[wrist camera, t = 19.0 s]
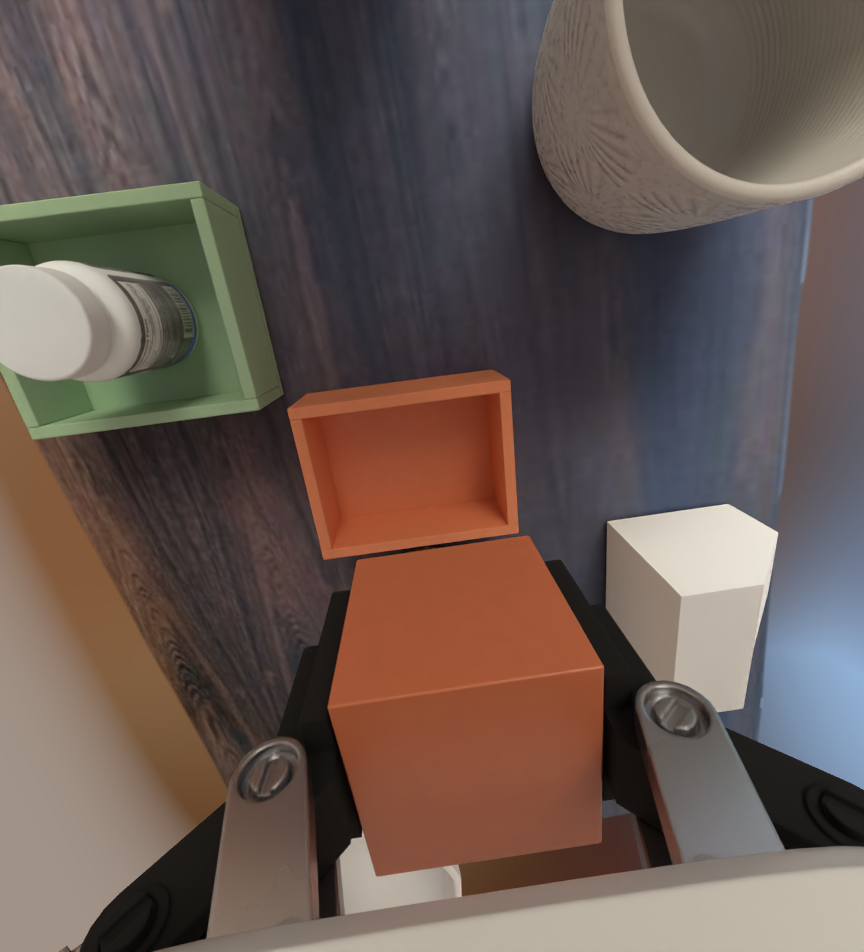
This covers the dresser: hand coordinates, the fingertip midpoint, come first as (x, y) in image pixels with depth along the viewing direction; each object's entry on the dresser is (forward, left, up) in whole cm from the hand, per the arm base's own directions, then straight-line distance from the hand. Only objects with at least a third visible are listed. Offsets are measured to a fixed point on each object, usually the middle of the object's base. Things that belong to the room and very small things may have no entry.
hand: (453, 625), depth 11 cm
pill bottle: (-9, -14, -16) cm, 23 cm away
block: (0, 0, 0) cm, 0 cm away
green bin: (-9, -14, -17) cm, 23 cm away
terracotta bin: (0, -1, -17) cm, 17 cm away
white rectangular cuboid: (+14, +16, -17) cm, 27 cm away
